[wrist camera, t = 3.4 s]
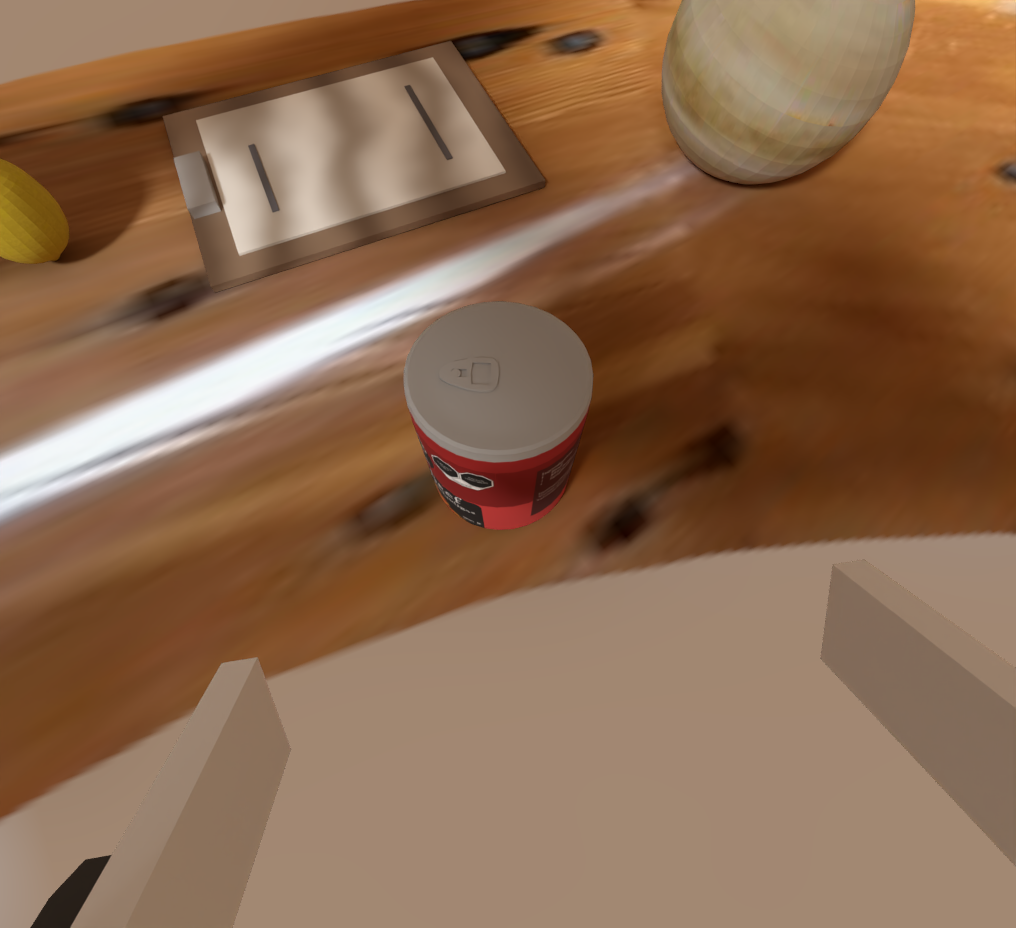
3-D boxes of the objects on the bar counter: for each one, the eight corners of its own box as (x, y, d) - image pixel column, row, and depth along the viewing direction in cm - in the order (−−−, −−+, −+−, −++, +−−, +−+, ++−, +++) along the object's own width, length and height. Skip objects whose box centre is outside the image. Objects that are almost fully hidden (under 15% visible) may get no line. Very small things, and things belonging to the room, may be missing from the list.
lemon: (93, 222, 40) (-1, 117, 33) (98, 274, 38) (-1, 175, 31) (15, 242, 39) (-98, 139, 32) (17, 296, 37) (-105, 199, 30)
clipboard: (215, 292, 37) (203, 277, 36) (166, 123, 44) (155, 105, 43) (544, 186, 41) (546, 169, 40) (451, 48, 49) (449, 29, 47)
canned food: (425, 432, 33) (388, 317, 23) (548, 405, 34) (565, 283, 24) (449, 549, 30) (418, 476, 20) (583, 517, 31) (619, 431, 21)
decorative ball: (672, 84, 47) (741, -170, 33) (843, 131, 44) (996, -123, 30) (613, 193, 41) (666, -57, 27) (805, 254, 39) (969, 13, 25)
